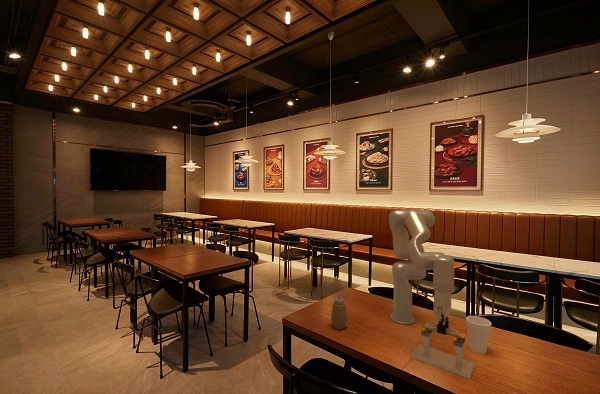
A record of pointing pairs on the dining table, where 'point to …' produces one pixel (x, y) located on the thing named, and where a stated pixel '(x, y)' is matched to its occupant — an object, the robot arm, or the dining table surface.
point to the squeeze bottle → (339, 313)
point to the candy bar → (448, 331)
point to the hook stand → (444, 356)
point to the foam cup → (478, 333)
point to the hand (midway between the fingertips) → (442, 331)
